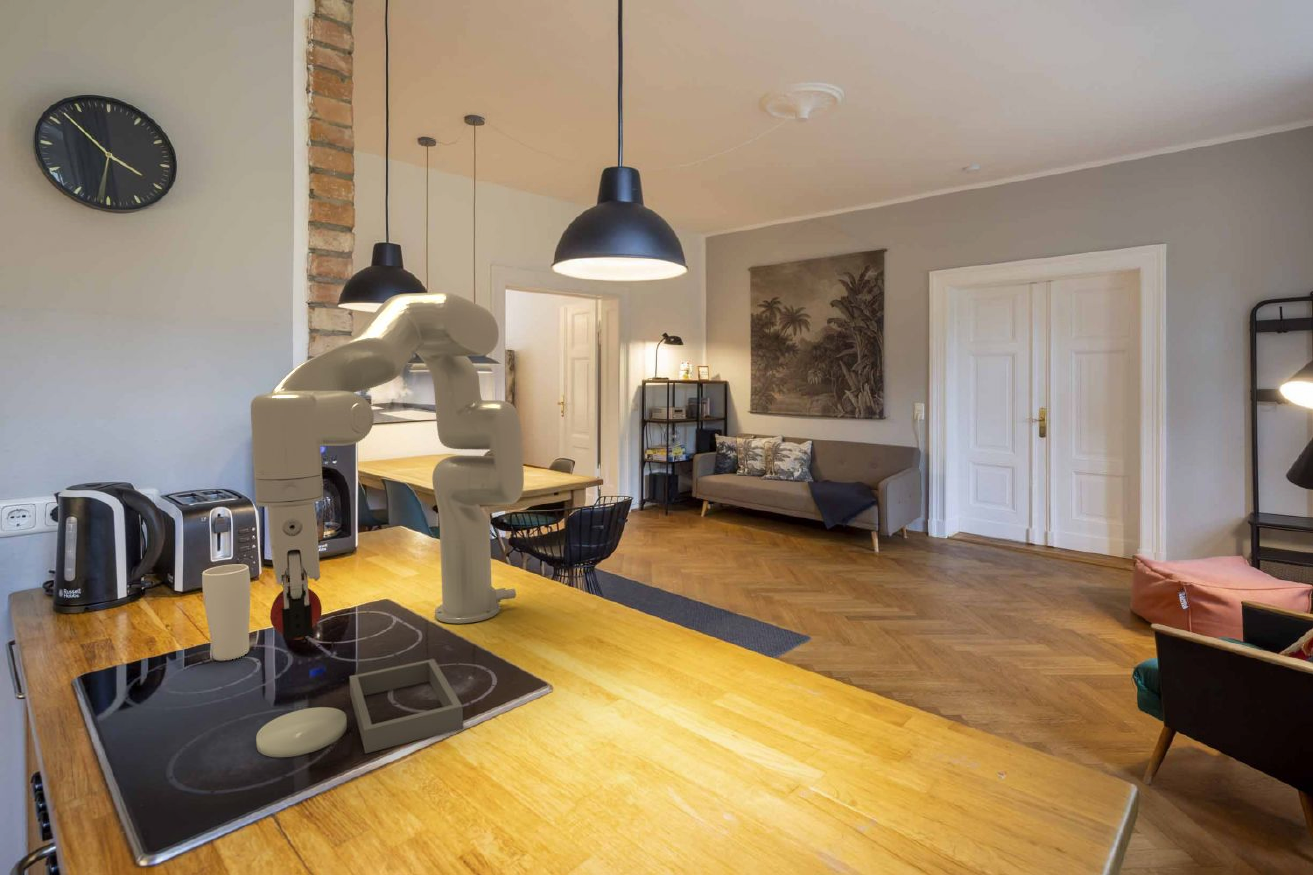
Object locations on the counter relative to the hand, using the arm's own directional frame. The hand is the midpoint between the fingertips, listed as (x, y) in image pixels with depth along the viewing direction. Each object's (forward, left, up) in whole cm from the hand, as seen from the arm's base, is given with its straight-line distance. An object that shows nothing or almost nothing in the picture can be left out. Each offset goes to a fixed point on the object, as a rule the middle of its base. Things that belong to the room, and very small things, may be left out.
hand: (297, 627), depth 86 cm
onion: (0, 0, -2) cm, 2 cm away
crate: (-12, 0, -14) cm, 19 cm away
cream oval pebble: (0, 0, -14) cm, 14 cm away
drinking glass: (+10, -36, -15) cm, 40 cm away
